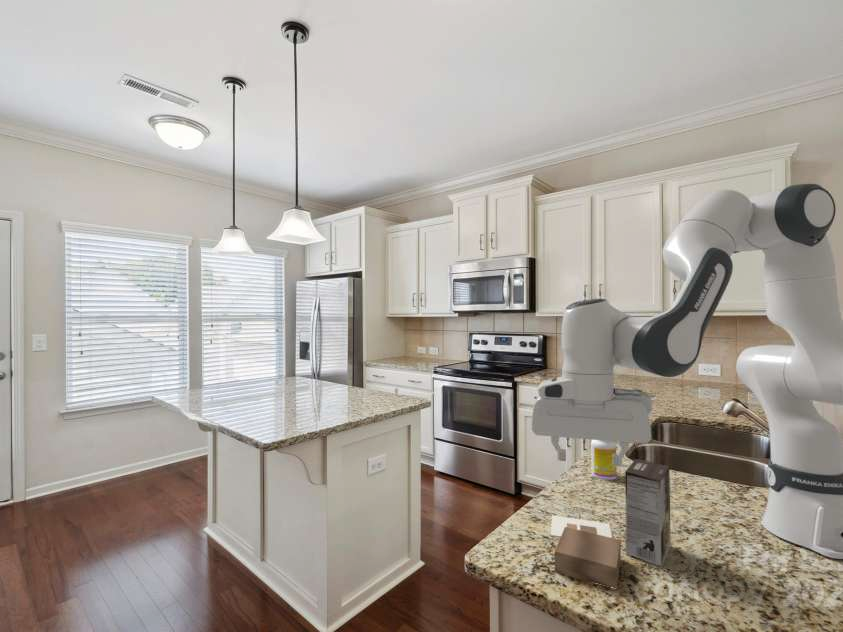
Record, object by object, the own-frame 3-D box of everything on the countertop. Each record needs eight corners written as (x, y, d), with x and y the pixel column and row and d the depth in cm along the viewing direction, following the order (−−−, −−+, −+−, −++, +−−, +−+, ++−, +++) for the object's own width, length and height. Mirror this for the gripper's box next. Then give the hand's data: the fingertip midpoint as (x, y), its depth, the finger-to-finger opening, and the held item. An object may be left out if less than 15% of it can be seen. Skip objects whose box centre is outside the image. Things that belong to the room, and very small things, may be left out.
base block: (620, 561, 77) (620, 540, 77) (616, 591, 69) (616, 567, 69) (565, 546, 82) (565, 526, 82) (554, 573, 74) (554, 551, 74)
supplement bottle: (620, 481, 114) (620, 435, 114) (596, 481, 114) (596, 435, 114) (610, 472, 121) (609, 428, 121) (587, 472, 121) (587, 428, 121)
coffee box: (635, 535, 86) (635, 458, 86) (671, 546, 82) (671, 465, 82) (624, 555, 79) (623, 470, 79) (662, 568, 75) (662, 478, 75)
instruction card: (609, 524, 90) (609, 523, 90) (613, 546, 82) (613, 544, 82) (552, 516, 94) (552, 514, 94) (550, 535, 86) (550, 534, 86)
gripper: (648, 386, 75) (649, 462, 75) (532, 382, 82) (533, 452, 82) (654, 392, 69) (656, 475, 69) (529, 387, 76) (531, 462, 76)
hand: (589, 462), depth 76 cm, fingers open, 8 cm apart
